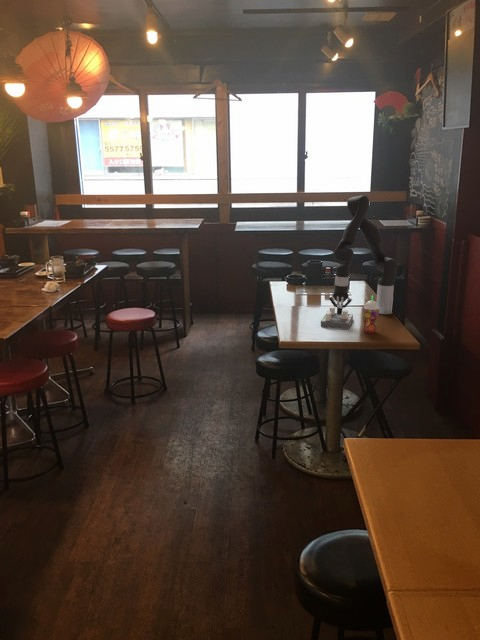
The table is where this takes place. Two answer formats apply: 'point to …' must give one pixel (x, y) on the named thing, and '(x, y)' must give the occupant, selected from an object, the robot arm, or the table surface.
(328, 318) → the breaker near
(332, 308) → the block
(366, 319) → the smoothie
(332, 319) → the breaker panel
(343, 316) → the block
